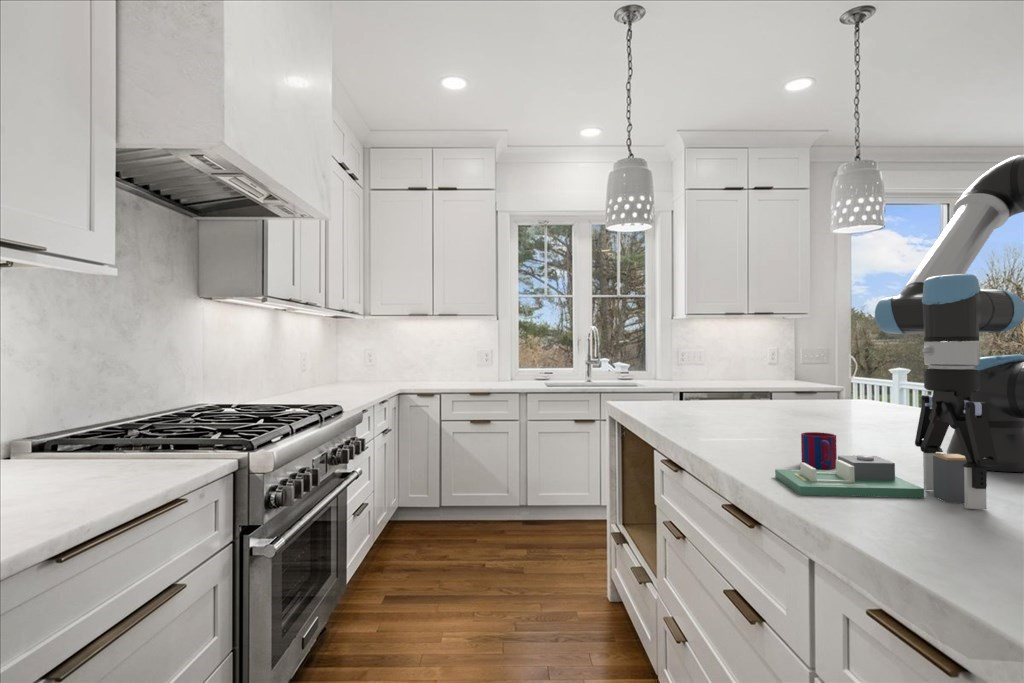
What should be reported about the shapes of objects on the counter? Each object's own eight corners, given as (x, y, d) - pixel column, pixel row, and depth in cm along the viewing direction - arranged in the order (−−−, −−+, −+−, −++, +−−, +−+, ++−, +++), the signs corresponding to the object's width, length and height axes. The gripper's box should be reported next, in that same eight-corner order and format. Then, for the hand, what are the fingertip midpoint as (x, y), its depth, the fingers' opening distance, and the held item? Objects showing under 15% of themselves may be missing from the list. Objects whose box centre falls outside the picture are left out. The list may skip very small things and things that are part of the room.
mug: (833, 463, 128) (833, 432, 128) (842, 473, 118) (841, 440, 118) (800, 462, 130) (799, 431, 130) (805, 471, 121) (805, 438, 121)
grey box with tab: (876, 471, 113) (876, 453, 113) (895, 479, 106) (894, 460, 106) (837, 470, 114) (837, 452, 114) (853, 479, 107) (853, 460, 107)
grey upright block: (962, 497, 99) (962, 453, 99) (978, 503, 95) (977, 458, 95) (933, 496, 100) (932, 453, 100) (947, 502, 96) (946, 458, 96)
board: (883, 478, 113) (883, 456, 113) (924, 497, 99) (923, 472, 99) (775, 476, 116) (774, 455, 116) (799, 494, 102) (799, 470, 102)
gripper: (891, 365, 110) (893, 481, 110) (971, 370, 87) (973, 518, 87) (935, 364, 109) (936, 482, 109) (1027, 370, 86) (1029, 520, 86)
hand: (953, 498), depth 98 cm, fingers open, 11 cm apart
